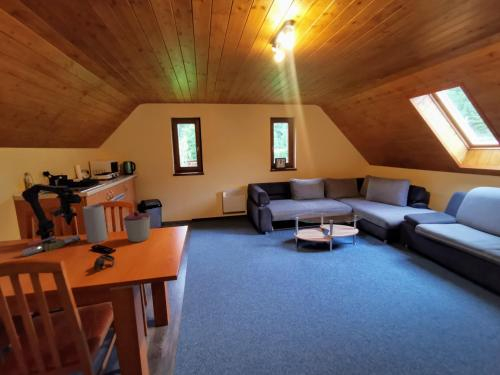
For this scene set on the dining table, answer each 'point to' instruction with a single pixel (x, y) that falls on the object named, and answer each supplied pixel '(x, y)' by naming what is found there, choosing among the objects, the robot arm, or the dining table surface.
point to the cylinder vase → (95, 223)
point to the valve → (50, 245)
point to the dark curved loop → (100, 261)
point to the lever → (41, 240)
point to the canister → (137, 226)
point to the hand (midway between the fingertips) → (68, 225)
